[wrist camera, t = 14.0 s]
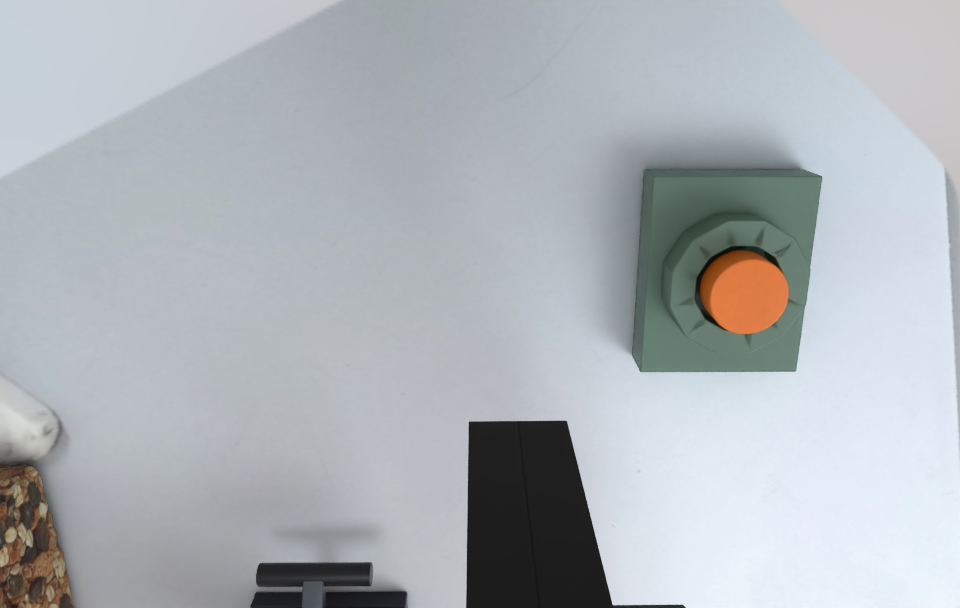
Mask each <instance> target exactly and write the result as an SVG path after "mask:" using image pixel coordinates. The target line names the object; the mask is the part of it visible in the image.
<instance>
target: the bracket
mask: <svg viewBox="0 0 960 608" xmlns="http://www.w3.org/2000/svg"><path fill="white" fill-rule="evenodd" d="M251 608H302V593H256V594H255V596H254V599H253V601H252V604H251ZM325 608H408V604H407V592H326V603H325Z"/></svg>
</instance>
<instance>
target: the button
mask: <svg viewBox="0 0 960 608" xmlns="http://www.w3.org/2000/svg"><path fill="white" fill-rule="evenodd" d="M788 294H789V290H788V284H787V281H786V278H785V276H784V274H783V273H782V272H781V270H780V269H779V268H778V267H777V266H775V265H774V264H772V263H771V262H770V261H768V260H767V259H765V258H764V257H763V256H761V255H759V254H757V253H755V252H752V251H748V250H736V251H731V252H728V253H725V254H723V255H721V256H720V257H718V258H717V259H715V260H714V261H713V262H712V263H711V264H710V265H709V266H708V268H707V269H706V270H705V272H704V274H703V276H702V279H701V283H700V298H701V301H702V304H703V306H704V307H705V309H706V310H707V311H708V313H709V314H710V315H711V316H712V317H713V318H714V319H715V320H716V322H717V323H718V324H719V325H720V326H722V327H723V328H724V329H726V330H728V331H730V332H733V333H737V334H752V333H757V332H760V331H762V330H764V329H766V328H768V327H770V326H771V325H772V324H774V323H775V322H776V321H777V320H778V319H779V317H780V316H781V315H782V313H783V312H784V310H785V307H786V305H787V301H788Z"/></svg>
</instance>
